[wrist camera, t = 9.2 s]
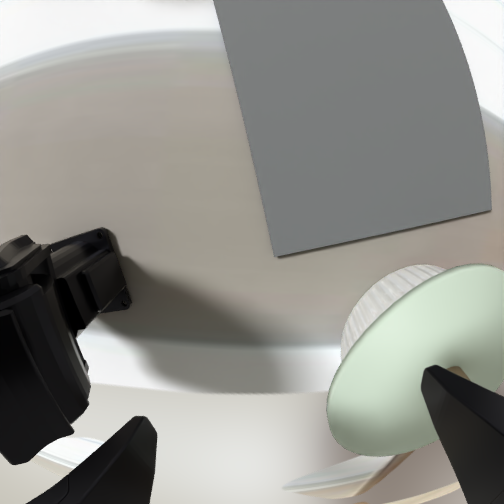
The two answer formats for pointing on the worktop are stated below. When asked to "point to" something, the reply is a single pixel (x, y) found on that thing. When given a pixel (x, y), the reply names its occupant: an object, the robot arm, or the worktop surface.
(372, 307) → the ramekin
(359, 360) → the lid
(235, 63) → the mat
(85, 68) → the worktop surface
